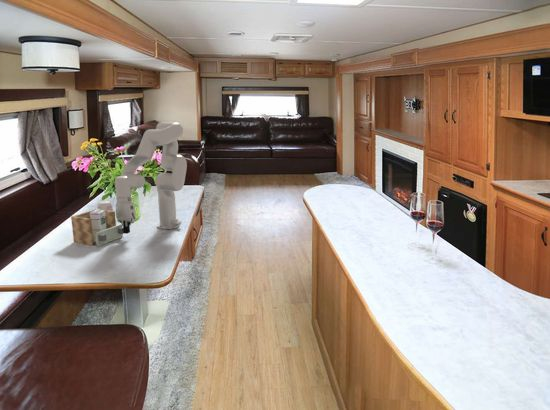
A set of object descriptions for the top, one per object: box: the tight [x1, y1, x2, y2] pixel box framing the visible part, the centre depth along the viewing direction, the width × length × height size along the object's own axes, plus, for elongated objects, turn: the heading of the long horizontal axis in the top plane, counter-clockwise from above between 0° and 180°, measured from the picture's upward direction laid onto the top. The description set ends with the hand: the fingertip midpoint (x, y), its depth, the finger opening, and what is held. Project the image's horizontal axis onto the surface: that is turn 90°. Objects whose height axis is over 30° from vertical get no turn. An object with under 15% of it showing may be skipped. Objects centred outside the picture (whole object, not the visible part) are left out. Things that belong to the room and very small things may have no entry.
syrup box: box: [90, 209, 107, 237], centre depth 266 cm, size 6×6×14 cm
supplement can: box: [97, 200, 114, 211], centre depth 293 cm, size 8×8×15 cm
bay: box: [70, 208, 117, 246], centre depth 271 cm, size 13×18×14 cm
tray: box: [93, 223, 125, 247], centre depth 269 cm, size 16×18×7 cm
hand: (126, 232), depth 271 cm, fingers closed
